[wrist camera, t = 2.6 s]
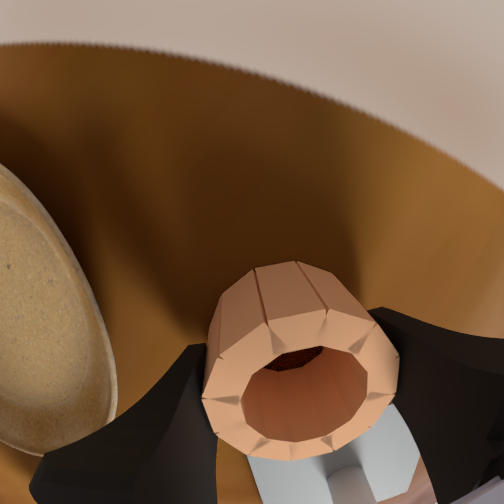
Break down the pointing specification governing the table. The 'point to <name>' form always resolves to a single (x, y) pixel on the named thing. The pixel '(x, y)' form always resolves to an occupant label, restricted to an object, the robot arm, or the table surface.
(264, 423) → the ring
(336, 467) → the post base
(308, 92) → the table surface
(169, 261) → the table surface
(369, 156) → the table surface
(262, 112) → the table surface
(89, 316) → the plant saucer
